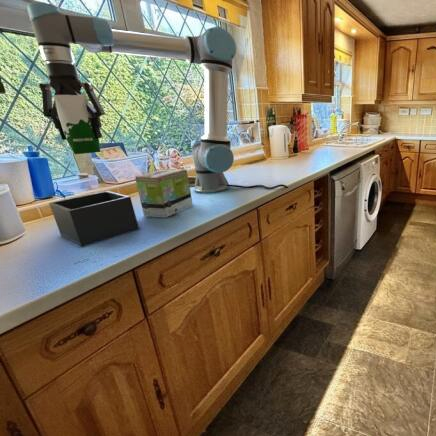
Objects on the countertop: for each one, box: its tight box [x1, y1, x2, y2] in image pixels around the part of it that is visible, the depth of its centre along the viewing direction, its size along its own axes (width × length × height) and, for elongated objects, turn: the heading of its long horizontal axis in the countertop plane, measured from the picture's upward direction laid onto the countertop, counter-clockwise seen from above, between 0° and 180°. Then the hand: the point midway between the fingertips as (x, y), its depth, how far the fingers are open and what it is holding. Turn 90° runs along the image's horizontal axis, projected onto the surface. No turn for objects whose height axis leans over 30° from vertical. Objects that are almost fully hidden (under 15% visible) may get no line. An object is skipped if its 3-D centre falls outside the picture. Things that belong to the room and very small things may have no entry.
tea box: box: [134, 168, 194, 219], centre depth 111 cm, size 15×10×15 cm, turn 168°
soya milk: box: [53, 94, 101, 155], centre depth 99 cm, size 9×9×20 cm
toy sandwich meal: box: [188, 175, 196, 187], centre depth 155 cm, size 12×14×5 cm
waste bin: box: [48, 190, 140, 248], centre depth 93 cm, size 16×16×11 cm
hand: (82, 138), depth 101 cm, fingers closed on soya milk, 9 cm apart
